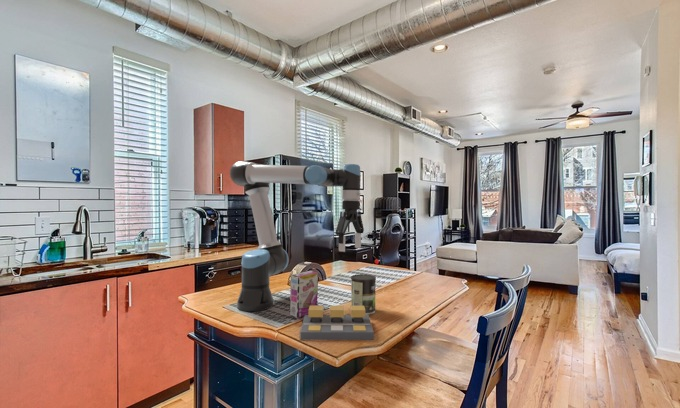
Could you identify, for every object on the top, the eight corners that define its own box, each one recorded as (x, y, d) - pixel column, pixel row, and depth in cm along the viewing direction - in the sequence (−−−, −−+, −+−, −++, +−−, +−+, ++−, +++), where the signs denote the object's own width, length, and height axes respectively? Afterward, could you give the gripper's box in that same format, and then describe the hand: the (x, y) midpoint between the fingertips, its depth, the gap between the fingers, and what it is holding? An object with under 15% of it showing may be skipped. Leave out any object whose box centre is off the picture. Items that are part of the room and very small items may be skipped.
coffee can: (376, 307, 135) (376, 274, 135) (374, 316, 125) (374, 280, 125) (352, 305, 138) (353, 273, 137) (348, 314, 127) (348, 279, 127)
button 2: (329, 323, 111) (329, 310, 111) (330, 318, 116) (330, 305, 116) (344, 323, 111) (344, 310, 111) (343, 318, 116) (343, 305, 116)
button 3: (351, 323, 111) (351, 310, 111) (350, 318, 116) (350, 305, 116) (365, 323, 111) (365, 310, 111) (364, 318, 116) (364, 305, 116)
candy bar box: (298, 319, 121) (298, 276, 121) (289, 316, 124) (289, 274, 124) (318, 311, 130) (318, 271, 130) (309, 309, 133) (309, 270, 133)
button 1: (308, 323, 111) (308, 310, 111) (309, 318, 116) (309, 305, 116) (322, 323, 111) (322, 310, 111) (323, 318, 116) (323, 305, 116)
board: (300, 339, 103) (300, 331, 103) (304, 321, 119) (304, 314, 119) (373, 339, 103) (373, 331, 103) (368, 321, 119) (368, 314, 119)
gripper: (343, 200, 124) (342, 254, 124) (371, 200, 145) (370, 247, 145) (327, 199, 128) (326, 252, 128) (357, 200, 149) (356, 245, 149)
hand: (350, 249), depth 137 cm, fingers open, 13 cm apart
